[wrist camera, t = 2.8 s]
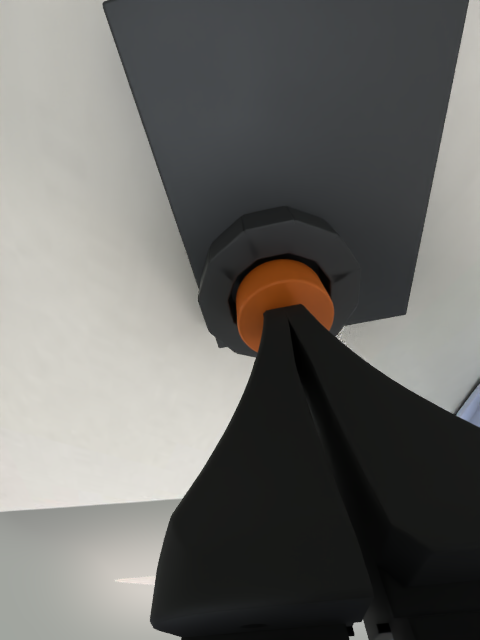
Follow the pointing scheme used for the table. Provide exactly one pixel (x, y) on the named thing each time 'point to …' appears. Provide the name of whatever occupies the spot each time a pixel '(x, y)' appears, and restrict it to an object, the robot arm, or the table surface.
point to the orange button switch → (294, 137)
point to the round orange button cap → (279, 296)
